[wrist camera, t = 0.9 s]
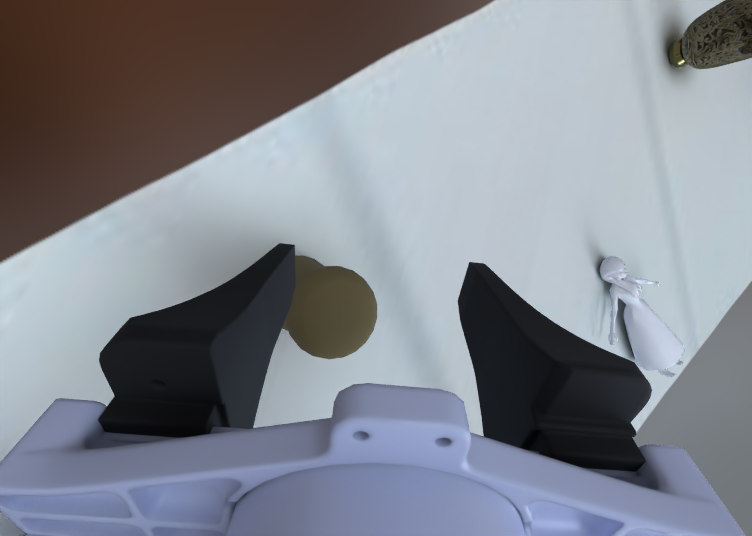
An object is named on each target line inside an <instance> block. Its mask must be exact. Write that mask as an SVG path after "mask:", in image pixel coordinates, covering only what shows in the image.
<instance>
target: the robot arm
mask: <svg viewBox="0 0 752 536" xmlns="http://www.w3.org/2000/svg"><path fill="white" fill-rule="evenodd" d="M295 286H296V281H295V245H291V244H281V243H279V244H278V245H277V246H275V247H274V248H273V249H272V250H270V251H269V252H268V253H267V254H266V255H264V256H263V257H262V258H261V259H259V260H258V261H257V262H255V263H254V264H253V265H251V266H250V267H249V268H247V269H246V270H244V271H243V272H242V273H240V274H239V275H237V276H236V277H234V278H233V279H231V280H229V281H228V282H226V283H224V284H222V285H220V286H219V287H217V288H215V289H213V290H211V291H209V292H206V293H204V294H202V295H200V296H197V297H195V298H193V299H191V300H188V301H185V302H183V303H180V304H177V305H174V306H171V307H168V308H165V309H162V310H159V311H155V312H151V313H147V314H144V315H140V316H136V317H132V318H130V319H129V320H128V321H127V322H126V323H125V324H124V325H123V326H122V327H121V328H120V330H119V331H118V332H117V333H116V334H115V335H114V337H113V338H112V339H111V340H110V341H109V342H108V344H107V345H106V346H105V347H104V349H103V350H102V351H101V353H100V358H99V362H100V365H101V368H102V371H103V373H104V375H105V377H106V379H107V381H108V383H109V385H110V387H111V389H112V391H113V393H114V395H115V397H114V398H113V399H112V401H111V402H110V404H109V405H108V406H106V405H104V404H102V403H100V402H96V401H88V400H76V399H63V398H60V399H56V400H55V401H54V402H53V403H52V404H51V405H50V406H49V408H48V409H47V410H46V411H45V412H44V413H43V414H42V416H41V417H40V418H39V419H38V420H37V421H36V422H35V424H34V425H33V426H32V427H31V428H30V429H29V430H28V432H27V433H26V434H25V435H24V436H23V437H22V438H21V440H20V441H19V442H18V443H17V444H16V445H15V446H14V448H13V449H12V450H11V451H10V452H9V453H8V454H7V456H6V457H5V458H4V459H3V460H2V461H1V462H0V511H1V512H2V513H3V514H4V515H5V516H7V517H8V518H9V519H10V520H11V521H12V522H13V523H14V524H15V525H17V526H18V527H19V528H20V529H21V530H22V531H23V532H24V533H26V535H25V536H746V535H745V534H744V532H743V531H742V530H741V528H740V527H739V526H738V524H737V523H736V521H735V520H734V518H733V517H732V515H731V514H730V513H729V511H728V510H727V508H726V507H725V506H724V504H723V503H722V501H721V500H720V499H719V497H718V496H717V494H716V493H715V492H714V490H713V489H712V487H711V486H710V484H709V483H708V482H707V480H706V479H705V477H704V476H703V474H702V473H701V472H700V470H699V469H698V467H697V466H696V465H695V463H694V462H693V460H692V459H691V457H690V456H689V455H688V453H687V452H686V451H685V449H684V448H682V447H678V446H665V445H653V444H651V445H644V446H640V447H637V445H636V443H635V442H634V440H633V438H632V437H634V436H635V435H636V431H635V429H634V428H633V426H632V424H631V423H630V422H631V421H632V420H633V419H634V418H635V417H636V416H637V414H638V413H639V412H640V411H641V410H642V409H643V408H644V406H645V405H646V404H647V402H648V401H649V399H650V396H651V392H652V389H651V386H650V383H649V382H648V380H647V379H646V378H645V376H644V375H643V374H642V372H641V371H640V370H639V368H638V367H637V365H636V364H635V363H634V362H632V361H630V360H628V359H625V358H623V357H620V356H618V355H616V354H613V353H611V352H608V351H606V350H604V349H602V348H599V347H597V346H595V345H593V344H591V343H589V342H587V341H585V340H583V339H581V338H580V337H578V336H576V335H574V334H572V333H571V332H569V331H567V330H566V329H564V328H562V327H560V326H559V325H557V324H556V323H554V322H553V321H551V320H550V319H548V318H547V317H545V316H544V315H543V314H541V313H540V312H538V311H537V310H536V309H534V308H533V307H532V306H531V305H529V304H528V303H527V302H526V301H525V300H523V299H522V298H521V297H520V296H519V295H518V294H516V293H515V292H514V291H513V290H512V289H511V288H510V287H509V286H508V285H507V284H506V283H504V282H503V281H502V280H501V279H500V278H499V277H498V276H497V275H496V274H495V273H494V272H493V271H492V270H491V269H490V268H489V267H487V266H486V265H485V264H483V263H473V262H469V265H468V269H467V272H466V275H465V279H464V282H463V285H462V288H461V292H460V295H459V298H458V306H459V314H460V321H461V325H462V329H463V332H464V336H465V339H466V343H467V346H468V350H469V353H470V357H471V360H472V364H473V368H474V372H475V377H476V383H477V389H478V395H479V402H480V409H481V416H482V425H483V434H484V437H483V436H480V435H477V434H474V433H471V432H470V429H469V424H468V420H467V415H466V410H465V406H464V402H463V401H462V400H461V399H460V398H459V397H458V396H457V395H456V394H454V393H451V392H448V391H444V390H440V389H431V388H419V387H407V386H395V385H383V384H371V383H366V384H354V385H352V386H350V387H348V388H346V389H344V390H342V391H340V392H339V393H338V395H337V397H336V399H335V401H334V407H333V415H332V418H327V419H319V420H312V421H304V422H297V423H289V424H282V425H274V426H267V427H259V428H253V425H254V421H255V417H256V413H257V408H258V404H259V400H260V396H261V392H262V388H263V384H264V380H265V376H266V373H267V369H268V365H269V362H270V358H271V355H272V352H273V349H274V346H275V344H276V341H277V339H278V336H279V334H280V331H281V329H282V326H283V324H284V321H285V319H286V316H287V314H288V311H289V309H290V306H291V302H292V298H293V294H294V290H295Z"/></svg>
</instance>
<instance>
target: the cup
mask: <svg viewBox="0 0 752 536" xmlns="http://www.w3.org/2000/svg"><path fill="white" fill-rule="evenodd" d="M749 58H752V0H725V1H723V2H721V3H720V4H718V5H716V6H715V7H713V8H711V9H710V10H708V11H707V12H705V13H704V14H702V15H701V16H699V17H698V18H697V19H695V20H694V21H693V22H692V23H691V24H690V26H689V27H688V28H687V30H686V31H685V33H684V36H683V37H679V38H677V39H676V40H675V41H674V42H673V43H672V44H671V45H670V48H669V59H670V62H671V64H672V65H673V66H674V67H677V68H680V67H685V66H687V65H688V64H689V65H690V66H691V67H693V68H697V69H708V68H714V67H719V66H723V65H726V64H730V63H734V62H738V61H741V60H745V59H749Z"/></svg>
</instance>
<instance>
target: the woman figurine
mask: <svg viewBox="0 0 752 536" xmlns="http://www.w3.org/2000/svg"><path fill="white" fill-rule="evenodd" d="M624 266H625V264H624V263H623V261H622V260H621V259H619V258H618V257H609V258H606V259H604V260H603V261H602V264H601V267H600V274H601V277H602V279H603V280H605V281H608V282H610V283H613V284H612V286H611V288H610V291H609V293H610V295H611V306H612V308H611V323H610V334H609V337H608V338H609V342H610V344H611V345H612V344H613V345H614V339H615V338H616V340H617V341H618V337H617V335H616V333H615V332H614V329H615V319H616V316H617V310H618V298H620V299H621V300H622V301H623V302H624V303H626V307H625V310H624V321H625V325H626V330H627V334H628V338H629V342H630V345H631V347H632V350H633V353H634V356H635V359H636V362H637V365H638V366H640V367H642V368H644V369H646V370H658V372H659V373H660V374H662V375H665V376H668V377H673V376H674V375H675V374H674V373H671V372H669V371H668V370H666V369H667V368H669V367H671V366H674V365H675V364H678V365H681V364H683V362H682V361H680V359H681V358H682V355H683V353H684V351H685V350H684V346H683V343H682V342H681V340H680V339H679V338H678V337H677V336H676V335H675V333H674V332H673V331H672V330H671V329H670V328H669V327H668V326H667V325H666V324H665V322H664V321H663V320H662V319H661V318H660V317H659V316H658V315H657V314H656V313H655V312H654V311H653V309H652V308H651V307H650V306H649V305H648V304H647V303H646V302H645V301H644V300H642V299H640V298H639V292H638V289H639V290H641V291H642V292H643V290H642V287H641V286H639V285H638V284H637V283H650V284H654V285H657V286H660V285H658V283H660V282H656V281H650V280H644V279H641V278H635V277H631V276H629V275H627V272H626V268H625V267H624ZM660 284H661V283H660ZM637 286H638V287H637Z"/></svg>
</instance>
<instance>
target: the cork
mask: <svg viewBox="0 0 752 536" xmlns="http://www.w3.org/2000/svg"><path fill="white" fill-rule="evenodd" d="M295 281H296V286H295V290H294V294H293V298H292V302H291V306H290V309H289V311H288V314H287V316H286V319H285V321H284V324H283V326H282V328H283V329H286V330H288V331H289V334H290V336H291V337H292V338H293V340H294V341H295V342H296V343H297V345H298V346H299V347H300V348H301V349H302V350H304V351H306V352H307V353H309V354H311V355H312V356H316V357H321V358H326V359H334V358H341V357H345V356H347V355H349V354H351V353H353V352H356V351H357V350H358V349H359V348H360V347H361V346H362V345H363V344H365V343H366V341H367V340H368V338H369V337H370V335H371V333H372V332H373V330H374V326H375V323H376V319H377V303H376V299H375V296H374V293H373V291H372V289H371V288H370V286H369V285H368V284H367V282H366V281H365V280H364V278H362V277H361V276H360V275H358V274H357V273H355V272H354V271H353V270H349V269H346V268H343V267H340V266H323V265H322V264H320V263H319V262H318V261H316V260H315V259H312V258H309V257H306V256H295Z"/></svg>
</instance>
